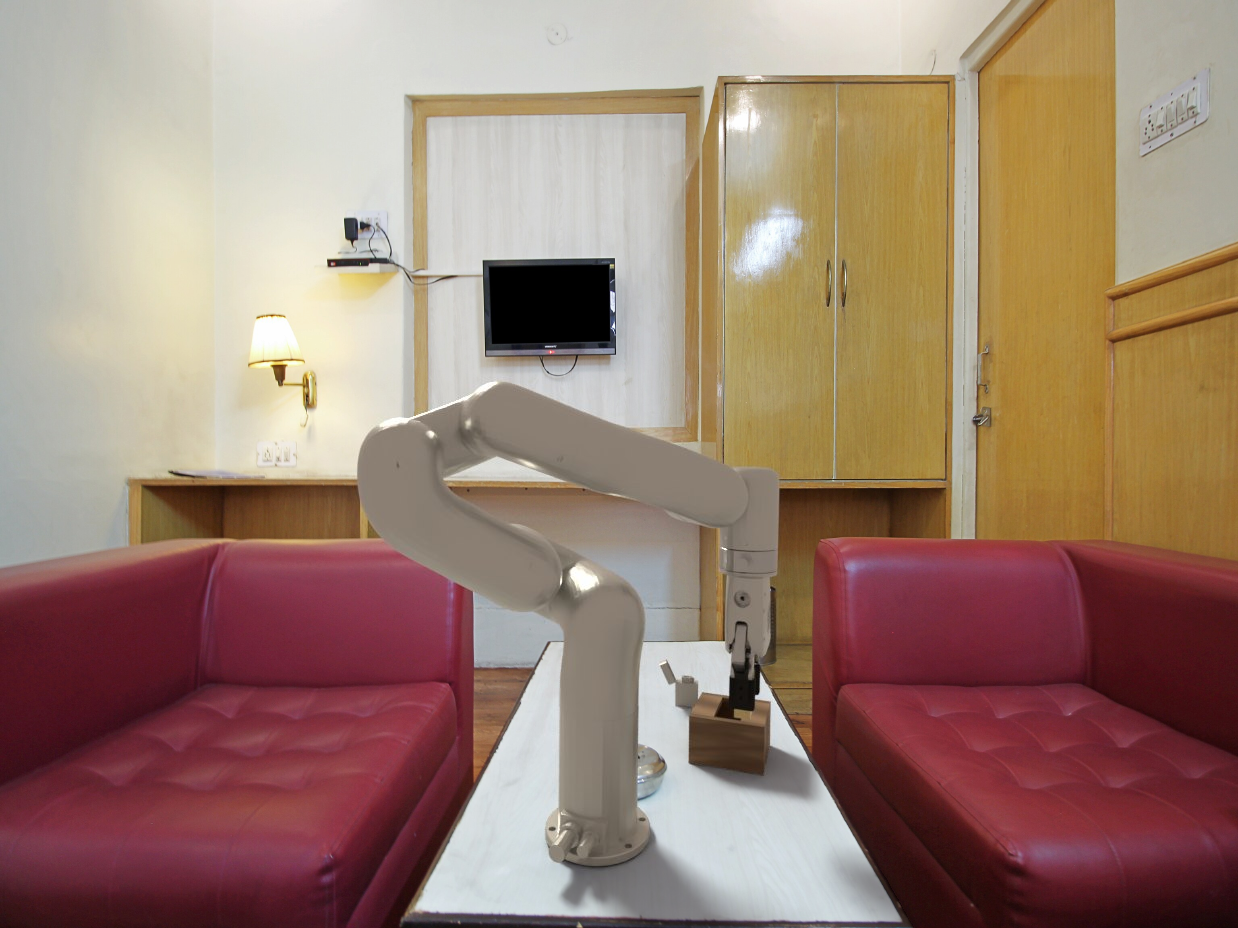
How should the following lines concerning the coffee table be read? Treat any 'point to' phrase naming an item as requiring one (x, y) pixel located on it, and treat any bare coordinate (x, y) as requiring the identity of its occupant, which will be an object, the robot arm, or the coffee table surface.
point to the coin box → (729, 735)
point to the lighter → (681, 687)
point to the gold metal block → (743, 713)
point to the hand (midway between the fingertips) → (744, 699)
